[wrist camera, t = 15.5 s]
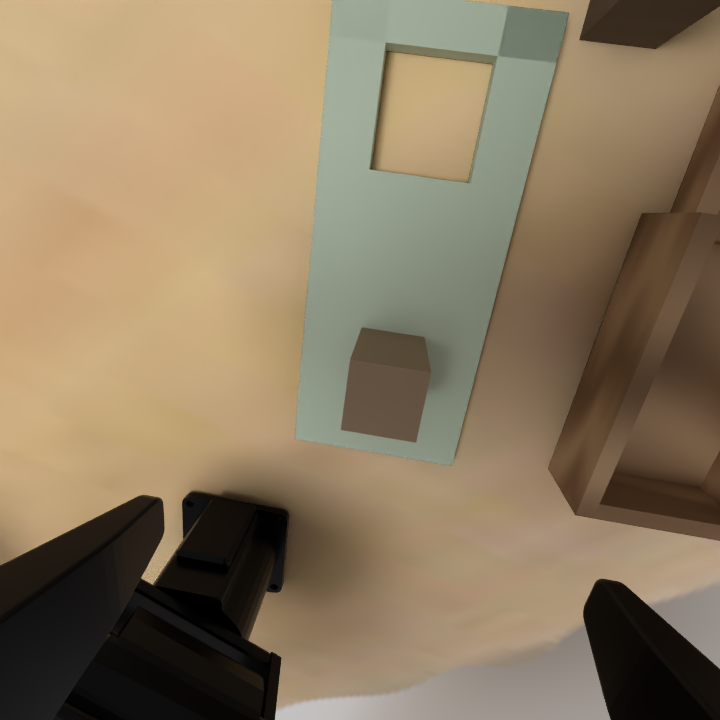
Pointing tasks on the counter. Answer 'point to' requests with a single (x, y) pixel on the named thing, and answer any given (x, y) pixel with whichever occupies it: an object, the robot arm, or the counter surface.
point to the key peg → (642, 20)
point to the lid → (413, 228)
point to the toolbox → (656, 372)
